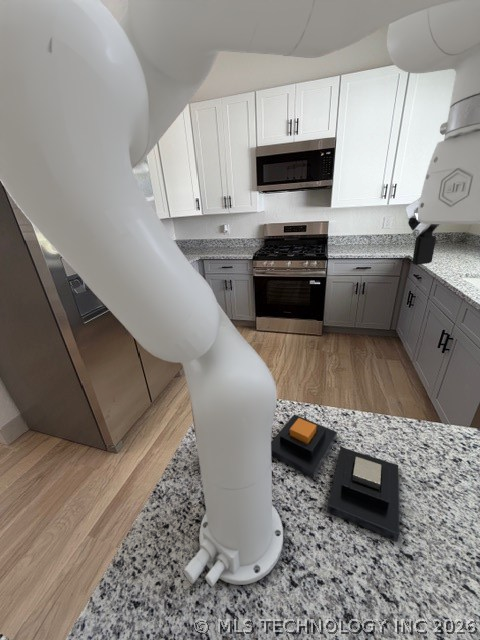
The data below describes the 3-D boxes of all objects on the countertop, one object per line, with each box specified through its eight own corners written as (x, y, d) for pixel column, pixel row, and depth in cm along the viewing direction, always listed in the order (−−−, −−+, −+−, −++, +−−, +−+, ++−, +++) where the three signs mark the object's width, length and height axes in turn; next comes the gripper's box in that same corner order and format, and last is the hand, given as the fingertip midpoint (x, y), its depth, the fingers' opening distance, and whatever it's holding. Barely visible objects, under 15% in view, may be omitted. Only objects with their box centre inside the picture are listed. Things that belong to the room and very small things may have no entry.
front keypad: (397, 542, 40) (401, 526, 38) (326, 512, 44) (328, 496, 43) (397, 471, 50) (400, 457, 49) (340, 453, 55) (341, 439, 54)
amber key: (307, 444, 53) (308, 437, 53) (289, 436, 56) (289, 428, 55) (316, 432, 56) (316, 425, 56) (298, 424, 59) (298, 417, 58)
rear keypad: (313, 479, 50) (314, 464, 48) (266, 453, 56) (266, 440, 54) (336, 438, 58) (337, 425, 57) (294, 419, 64) (294, 407, 63)
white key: (378, 492, 44) (380, 484, 43) (352, 482, 45) (353, 474, 45) (379, 472, 47) (381, 464, 46) (354, 464, 49) (355, 456, 48)
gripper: (398, 139, 38) (382, 263, 44) (570, 83, 23) (510, 284, 29) (438, 141, 40) (418, 258, 46) (622, 89, 25) (555, 276, 31)
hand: (453, 268), depth 37 cm, fingers open, 9 cm apart
